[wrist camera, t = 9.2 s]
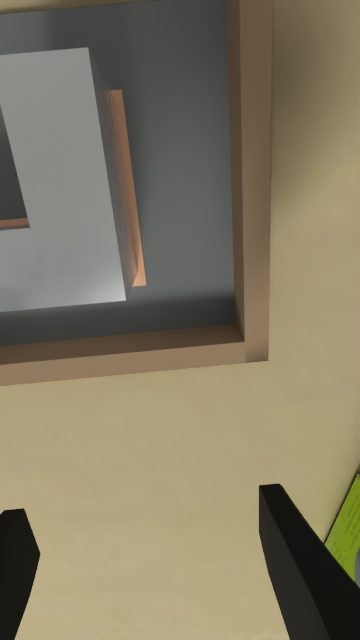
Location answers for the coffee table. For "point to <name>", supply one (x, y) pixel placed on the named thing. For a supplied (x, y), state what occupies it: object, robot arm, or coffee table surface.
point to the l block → (64, 185)
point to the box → (348, 534)
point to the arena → (163, 189)
